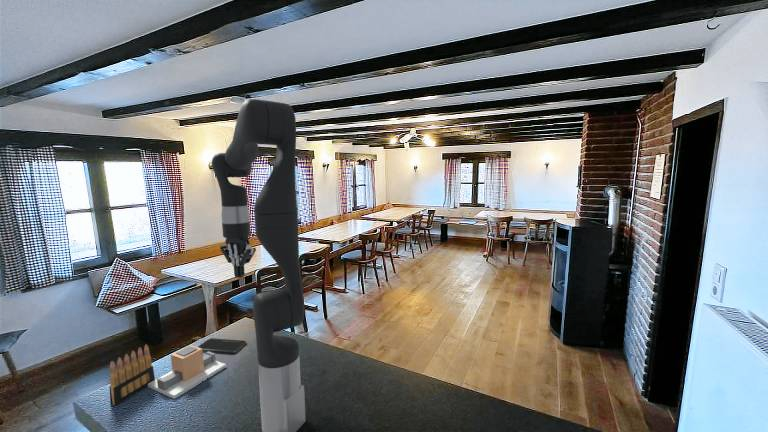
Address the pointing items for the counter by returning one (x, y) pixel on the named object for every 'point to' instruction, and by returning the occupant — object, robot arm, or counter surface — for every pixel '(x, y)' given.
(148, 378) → the ammunition clip
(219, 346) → the phone
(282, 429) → the robot arm
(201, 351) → the block
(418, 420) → the counter surface
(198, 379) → the rail board
